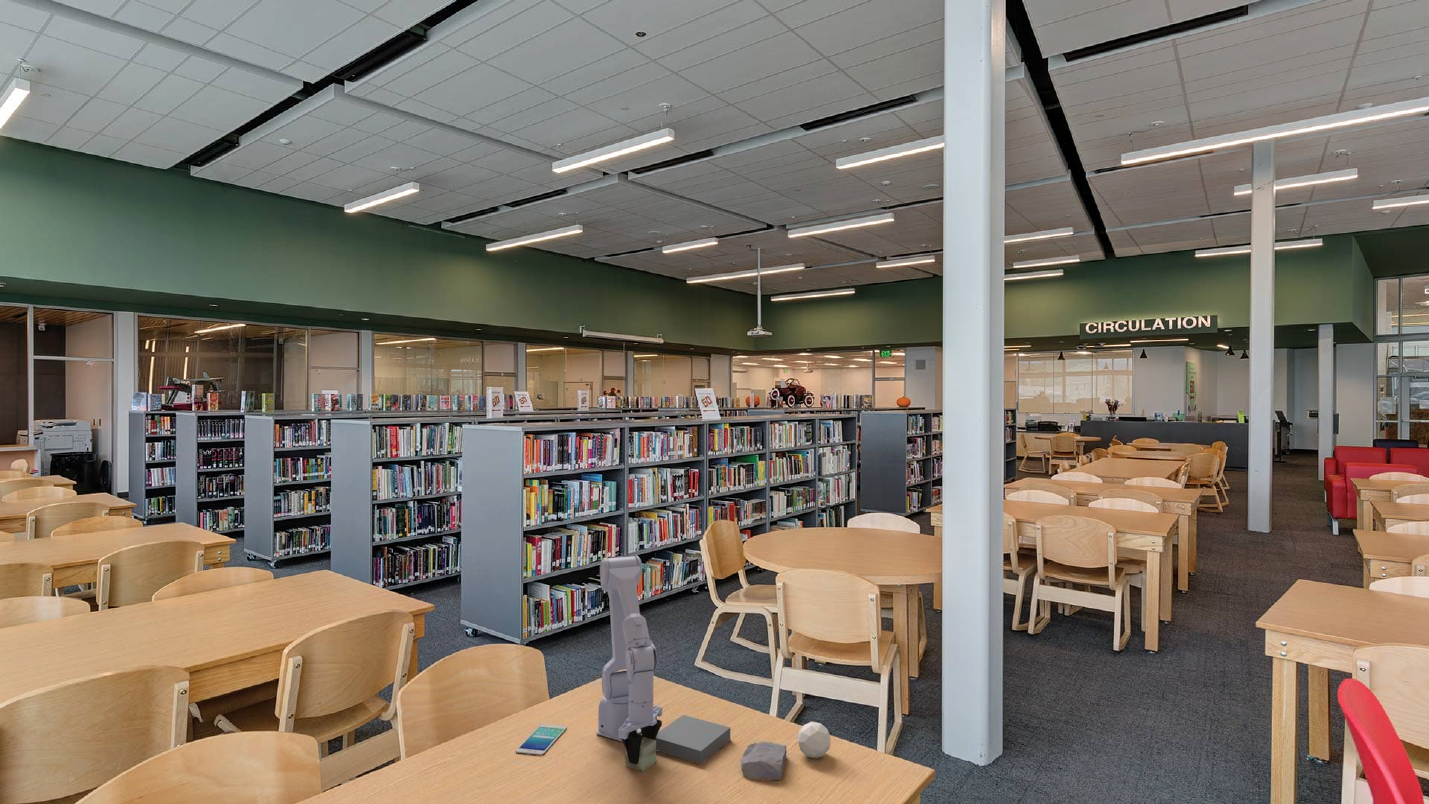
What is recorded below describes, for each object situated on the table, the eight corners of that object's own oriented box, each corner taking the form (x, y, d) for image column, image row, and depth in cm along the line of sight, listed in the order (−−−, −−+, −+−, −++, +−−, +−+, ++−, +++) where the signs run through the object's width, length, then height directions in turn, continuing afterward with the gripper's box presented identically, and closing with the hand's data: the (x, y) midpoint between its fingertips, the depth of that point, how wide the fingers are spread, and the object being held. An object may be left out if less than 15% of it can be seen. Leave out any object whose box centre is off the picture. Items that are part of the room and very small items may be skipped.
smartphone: (568, 726, 181) (543, 754, 167) (568, 729, 181) (543, 757, 167) (540, 723, 183) (513, 751, 168) (540, 727, 183) (513, 754, 168)
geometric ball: (805, 768, 167) (785, 738, 168) (825, 745, 172) (805, 717, 173) (823, 764, 161) (802, 733, 163) (843, 741, 166) (822, 711, 168)
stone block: (740, 786, 157) (784, 782, 155) (736, 764, 158) (780, 759, 156) (748, 762, 169) (789, 757, 167) (744, 741, 169) (785, 737, 167)
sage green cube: (625, 765, 162) (625, 744, 162) (638, 756, 167) (638, 735, 167) (643, 771, 160) (643, 749, 160) (655, 762, 164) (656, 740, 164)
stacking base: (651, 749, 170) (651, 736, 170) (683, 726, 182) (683, 714, 182) (700, 764, 163) (700, 751, 163) (730, 739, 175) (730, 727, 175)
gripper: (636, 714, 155) (635, 776, 155) (672, 691, 168) (672, 748, 167) (610, 707, 159) (610, 767, 158) (648, 685, 171) (648, 741, 171)
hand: (640, 757), depth 163 cm, fingers closed on sage green cube, 5 cm apart
